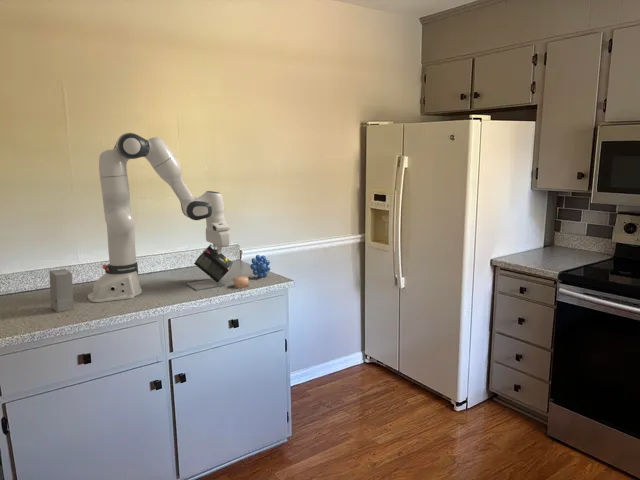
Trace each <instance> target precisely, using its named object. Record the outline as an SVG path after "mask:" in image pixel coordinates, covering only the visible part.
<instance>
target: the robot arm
mask: <svg viewBox="0 0 640 480" xmlns="http://www.w3.org/2000/svg"><path fill="white" fill-rule="evenodd" d="M140 158H144V159H146V161H147V162H148V163H149V164H150V165H151V167H152V168H153V170H154V171H155V173H156V174H157V175H158V177H160V178H161V180H162V181H164V182H165V183H166V184H168V185H169V187H170V188H171V190H172V191H173V192H174V194H175V196H176V198H177V199H178V200H179V202H180V207H181V211H182V213H183V215H184V216H185V217H186V218H189V219H190V220H192V221H201V220H205V221H206V228H205V240H206V242H208V243H210V244H211V245H212V246H213V247H214V251H215V253H217V254H221V253H222V250H223V248H228V247H229V246H230V232H229V230H230V228H231V227H230V225H229V224H228V222H226V217H225V213H224V212H225V203H224V197H223V195H222V193H220V192H219V191H214V190H213V191H212V190H207V191H205V192H204V193H203V194H201V195H199V196H198V197H195V196H194V195H193V194H192V193H191V191H190V189H189V188H188V186H187V185H186V183H185V182H184V179H183V176H182V166H181V164H180V162H179V160H178V158H177V157H176V155H175V153H174V152H173V151H172V149H171V148H170V147H169V145H168V144H167V143H166V142H165V141H164V140H163V139H162V138H161V137H158V136H155V137H154V136H153V137H150V138H148V139H146V138H144V137H142V136H141V135H138V134H136V133H133V132H126V133H123V134H122V135H120V136H119V137H118V138H117V141H116V143H115V145H114V147H113V148H112V149H106V150H103V151H102V152H101V153H100V154H99V159H98V173H99V182H100V189H101V193H102V194H101V197H102V203H103V211H104V212H103V213H104V220H105V223H106V233H107V234H106V235H107V248H108V250H107V251H108V259H109V260H108V261H109V264H104V263H103V264H102V269H103V270H104V271H105V272H104V274H103V275H101V277H99V278H98V279H97V280H96V281H94V283H93V285H92V286H93V287H92V292H89V293H88V294H87V299H88V301H89V302H92V303H104V302H112V301H113V302H114V301H120V300H121V301H122V300H130V299H134V298H135V297H136V296H139V295H141V294H142V293H143V289H142V288H141V284H140V281H139V275H138V274H139V265H138V262H137V256H136V240H135V239H136V234H135V230H136V229H135V226H136V225H135V218H134V216H133V214H132V209H131V208H132V207H131V199H130V198H131V197H130V193H131V192H130V186H129V185H130V184H129V179H128V177H129V176H128V169H127V163H128V161H129V160H134V159H140Z"/></svg>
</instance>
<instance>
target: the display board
mask: <svg viewBox="0 0 640 480" xmlns="http://www.w3.org/2000/svg"><path fill="white" fill-rule="evenodd" d="M186 286H188V287H190V288H191V289H193V290H195V291H203V290H209V289H210V290H211V289H215V288H221V287H225V286H226V284H225V283H224V282H222V281H221V280H219V282H218V283H217V282H216V281H215V280H213V279H212V278H211V279H204V280H200V281H193V282H187V283H186Z"/></svg>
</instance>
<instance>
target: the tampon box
mask: <svg viewBox="0 0 640 480" xmlns="http://www.w3.org/2000/svg"><path fill="white" fill-rule="evenodd" d="M193 265H195V266H196V267H197V268H198V269H199V270H201V271H202V272H203V273H205V274H206V275H207V276H209V278H211V279H213V280H215V281H216V282H217V283H218V282H219V281H221V280H222V278H224V276H225V275H226V274H227V273H228V272H229V271H230V269H231V267H232V265H233V262H232V261H231V260H230V259H228V257H226V256H225V255H224V254H223V253H222V252H221V254H217V253H215V251H214V247H213V244H212V243H210V244H209V245H208V246H207V247H206V248H205V249H204V251H203V252H202V253H201V254H200V255H199V256H198V257H197V259H196V260H195V261H194V263H193Z"/></svg>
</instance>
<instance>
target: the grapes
mask: <svg viewBox="0 0 640 480" xmlns="http://www.w3.org/2000/svg"><path fill="white" fill-rule="evenodd" d="M270 264H271V262H270V260H269V259H267V257H266V256H265V255H260V254H256V256H255V257H253V258H251V264H250V266H249V267H250V269H251V270H252V274H253V275H254V276H257V277H258V278H263V277H267V276H268V274H269V272H270V270H271V267H270Z"/></svg>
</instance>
